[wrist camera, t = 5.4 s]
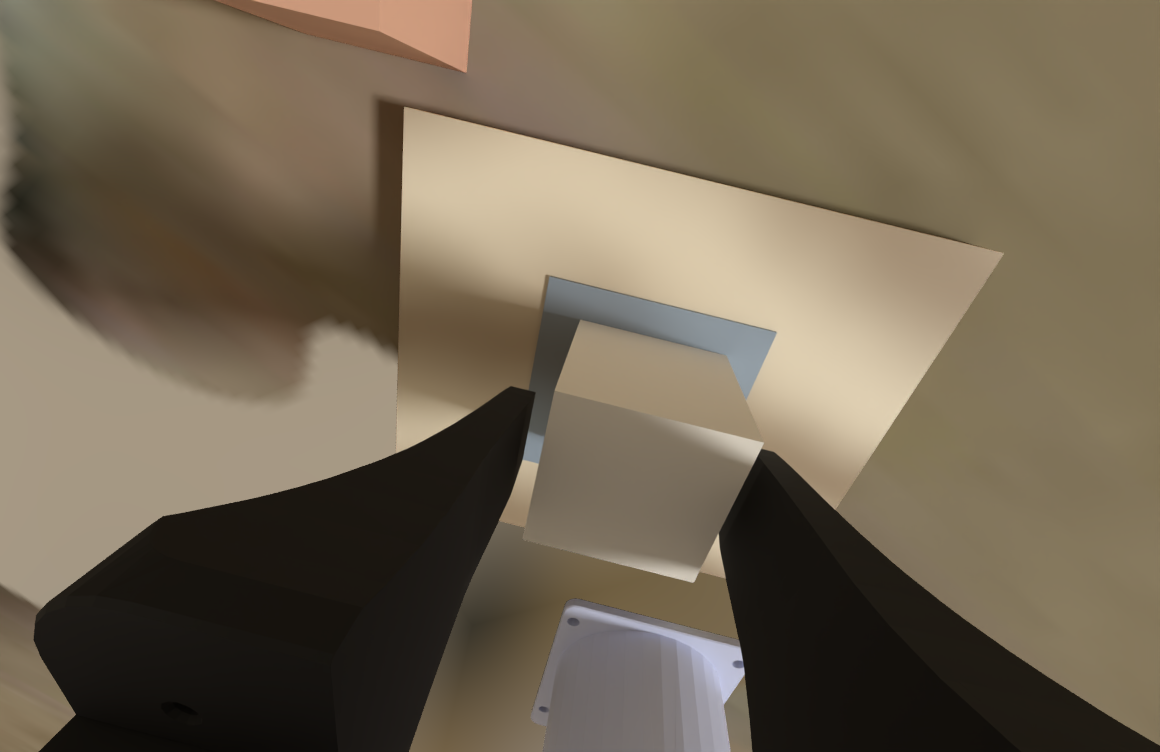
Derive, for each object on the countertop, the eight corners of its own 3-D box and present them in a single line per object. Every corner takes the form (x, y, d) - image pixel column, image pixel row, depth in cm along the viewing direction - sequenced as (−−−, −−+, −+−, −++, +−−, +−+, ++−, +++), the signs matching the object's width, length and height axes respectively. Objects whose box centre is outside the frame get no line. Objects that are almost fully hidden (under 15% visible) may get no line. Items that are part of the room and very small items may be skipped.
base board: (773, 568, 16) (781, 595, 15) (408, 476, 16) (393, 496, 16) (974, 245, 11) (1007, 254, 10) (423, 110, 11) (402, 106, 10)
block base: (679, 470, 14) (693, 582, 10) (553, 439, 14) (522, 539, 10) (726, 355, 12) (764, 442, 8) (580, 319, 12) (554, 390, 8)
